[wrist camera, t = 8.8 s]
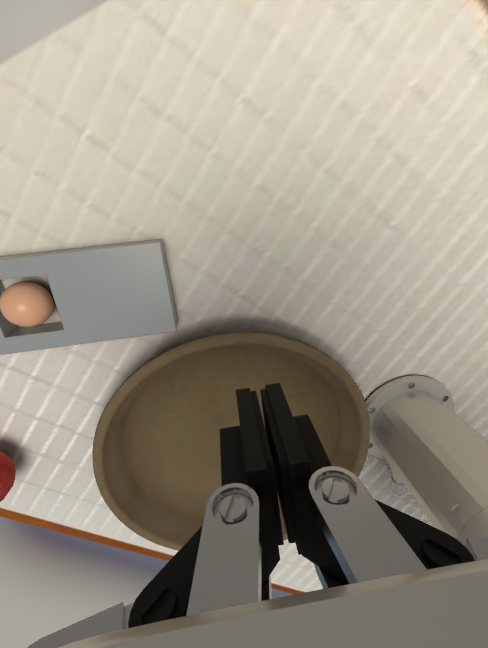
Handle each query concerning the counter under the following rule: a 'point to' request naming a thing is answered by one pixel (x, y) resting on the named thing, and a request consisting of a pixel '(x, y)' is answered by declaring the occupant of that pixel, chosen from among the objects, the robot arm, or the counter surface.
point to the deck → (94, 295)
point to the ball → (26, 304)
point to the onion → (6, 474)
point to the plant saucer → (211, 425)
